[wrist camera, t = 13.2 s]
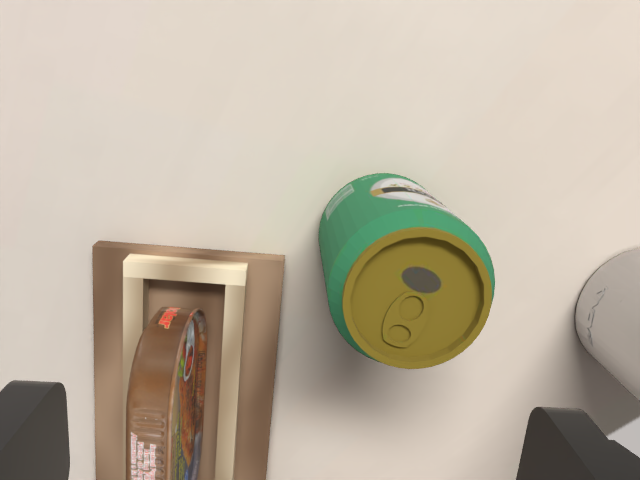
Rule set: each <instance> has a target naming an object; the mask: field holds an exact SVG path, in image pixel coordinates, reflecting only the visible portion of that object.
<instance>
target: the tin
mask: <svg viewBox="0 0 640 480" xmlns="http://www.w3.org/2000/svg"><path fill="white" fill-rule="evenodd" d="M206 359H207V323H206V316H205V313H204V311H203V310H202V309H201V308H196V309H187V308H178V307H162V308H160V309H159V310H158V311H157V312H156V313H155V315H154V316H153V318H152V319H151V321H150V323H149V324H148V325H147V327H146V328H145V329H144V331H143V333H142V335H141V337H140V339H139V342H138V345H137V348H136V351H135V355H134V359H133V362H132V367H131V372H130V377H129V384H128V392H127V402H126V480H197V478H198V472H199V466H200V459H201V450H202V438H203V421H204V399H205V379H206Z"/></svg>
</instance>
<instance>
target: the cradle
mask: <svg viewBox="0 0 640 480" xmlns="http://www.w3.org/2000/svg"><path fill="white" fill-rule="evenodd" d="M284 261H285V255H272V254H260V253H247V252H235V251H222V250H210V249H197V248H185V247H172V246H160V245H147V244H135V243H122V242H110V241H98V242H97V243H96V244H94V245H93V315H94V384H95V453H96V480H126V402H127V392H128V384H129V377H130V372H131V367H132V362H133V359H134V355H135V351H136V348H137V345H138V342H139V339H140V337H141V335H142V333H143V331H144V329H145V328H146V327H147V325H148V324H149V323H150V321H151V319H152V318H153V316H154V315H155V313H156V312H157V311H158V310H159V309H160V308H162V307H178V308H187V309H196V308H201V309H202V310H203V311H204V313H205V316H206V323H207V359H206V379H205V399H204V421H203V438H202V450H201V459H200V466H199V472H198V478H197V480H266V471H267V459H268V448H269V436H270V424H271V413H272V401H273V389H274V378H275V366H276V354H277V343H278V331H279V319H280V308H281V296H282V284H283V273H284Z"/></svg>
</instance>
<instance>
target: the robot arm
mask: <svg viewBox="0 0 640 480" xmlns="http://www.w3.org/2000/svg"><path fill="white" fill-rule="evenodd" d="M575 320H576V330H577V333H578V336H579V339H580V341H581V343H582V344H583V346H584V347H585V349H586V350H587V351H588V352H589V353H590V354H591V355H592V356H593V357H594V358H595V359H596V360H597V361H598V362H599V363H600V364H601V365H602V366H604V367H605V368H606V369H607V370H608V371H609V372H610V373H611V374H612V375H613V376H614V377H615V378H616V379H617V380H618V381H619V382H620V383H621V384H622V385H623V386H624V387H625V388H626V389H627V390H628V391H630V392H631V393H632V394H633V395H634V396H635V397H636V398H637V399H638V400H639V401H640V248H636V249H633V250H629V251H626V252H623V253H621V254H619V255H618V256H616V257H614V258H612V259H610V260H609V261H608V262H606V263H605V264H604V265H602V266H601V267H600V268H599V269H598V270H597V271H596V272H595V273H594V274H593V275H592V277H591V278H590V279H589V280H588V282H587V283H586V285H585V287H584V288H583V290H582V292H581V295H580V297H579V300H578V303H577V308H576V316H575ZM69 469H70V454H69V435H68V417H67V399H66V391H65V388H64V386H63V384H62V383H59V382H39V381H18V380H14V381H11V382H10V383H8V384H7V385H6V386H5V387H4V388H3V390H2V391H1V392H0V480H68V477H69ZM516 480H640V458H639V457H638V456H636V455H635V454H633V453H632V452H630V451H629V450H628V449H626V448H625V447H623V446H622V445H620V444H619V443H617V442H616V441H615V440H608V438H607V437H606V436H605V435H604V434H603V433H602V431H601V430H600V429H599V428H598V427H597V425H596V424H595V423H594V422H593V421H592V420H591V418H590V417H589V416H588V415H587V414H586V413H585V412H584V411H583V410H581V409H570V408H550V407H536V408H534V409H533V410H532V412H531V414H530V417H529V420H528V425H527V430H526V435H525V440H524V444H523V449H522V454H521V459H520V464H519V469H518V473H517V478H516Z"/></svg>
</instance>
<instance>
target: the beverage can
mask: <svg viewBox="0 0 640 480" xmlns="http://www.w3.org/2000/svg"><path fill="white" fill-rule="evenodd" d="M319 246H320V252H321V258H322V265H323V271H324V277H325V284H326V290H327V296H328V302H329V308H330V312H331V315H332V318H333V321H334V323H335V325H336V327H337V328H338V330H339V332H340V334H341V335H342V336H343V337H344V338H345V340H346V341H347V342H348V343H349V344H350V345H351V346H352V347H354V348H355V349H356V350H357V351H359V352H360V353H362V354H363V355H365V356H367V357H368V358H371V359H373V360H376V361H378V362H381V363H384V364H387V365H390V366H394V367H398V368H406V369H421V368H426V367H432V366H435V365H438V364H441V363H444V362H446V361H448V360H450V359H452V358H454V357H455V356H457V355H458V354H460V353H461V352H463V351H464V350H465V349H466V348H467V347H468V346H469V345H471V344H472V342H473V341H474V340H475V339H476V338H477V336H478V335H479V334H480V332H481V330H482V329H483V327H484V325H485V323H486V320H487V318H488V316H489V312H490V308H491V304H492V300H493V296H494V287H495V277H494V269H493V265H492V261H491V258H490V255H489V253H488V251H487V249H486V247H485V245H484V244H483V242H482V241H481V240H480V238H479V237H478V236H477V235H476V234H475V233H474V232H473V231H472V230H471V229H470V228H469V227H468V226H467V225H466V224H465V223H464V222H462V221H461V220H460V219H459V218H458V217H457V216H456V215H454V214H453V213H452V212H451V211H450V210H449V209H447V208H446V207H445V206H444V205H443V204H442V203H440V202H439V201H438V200H437V199H436V198H435V197H433V196H432V195H431V194H430V193H429V192H428V191H426V190H425V189H424V188H423V187H422V186H420V185H419V184H417V183H416V182H414V181H412V180H410V179H408V178H406V177H403V176H400V175H396V174H388V173H380V174H372V175H367V176H364V177H361V178H358V179H356V180H354V181H352V182H350V183H348V184H347V185H346V186H344V187H343V188H342V189H340V190H339V191H338V192H337V193H336V194H335V195H334V196H333V198H332V199H331V201H330V202H329V203H328V205H327V207H326V209H325V211H324V213H323V215H322V218H321V222H320V227H319Z"/></svg>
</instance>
